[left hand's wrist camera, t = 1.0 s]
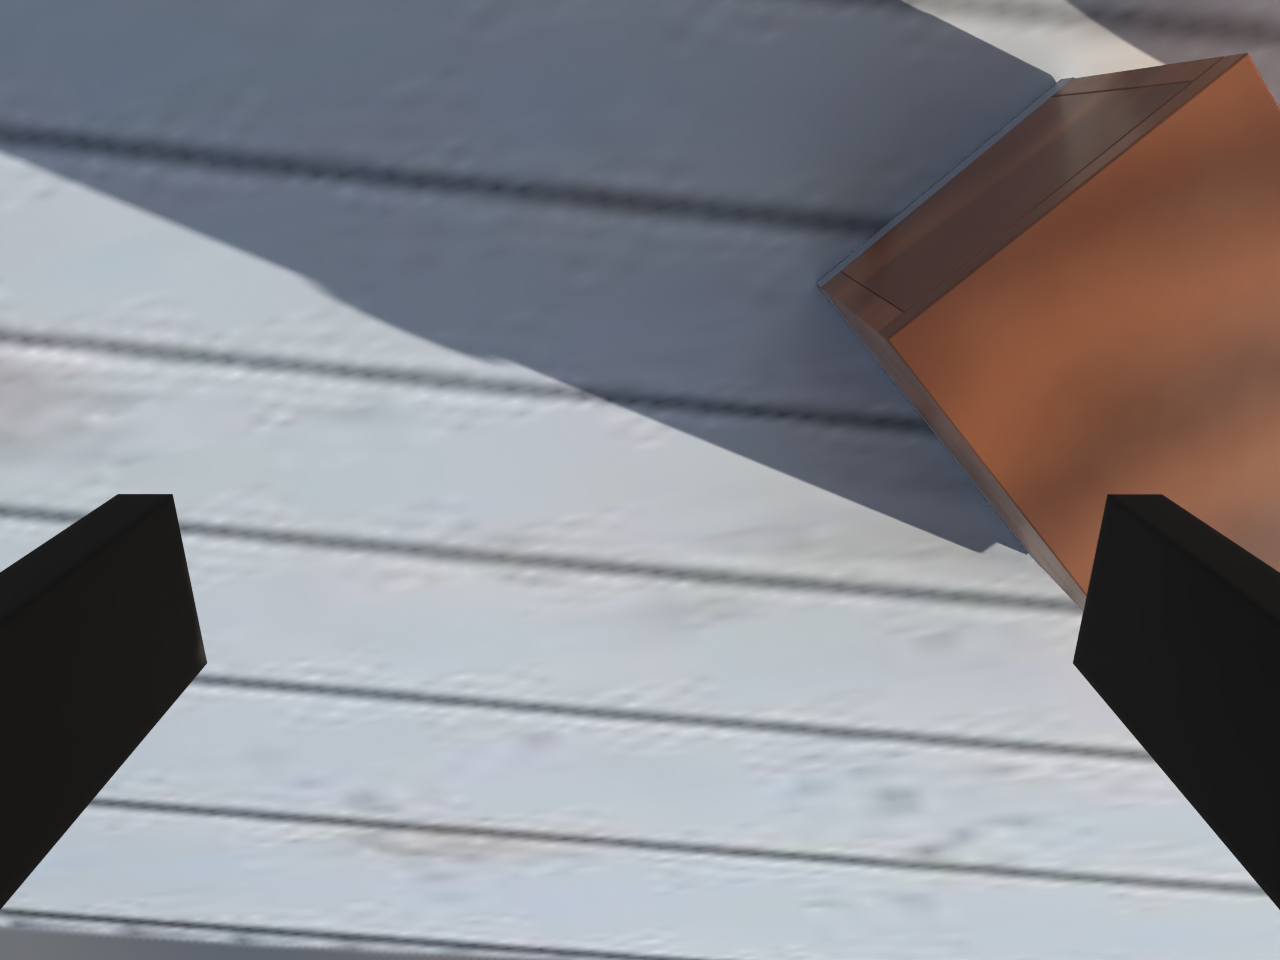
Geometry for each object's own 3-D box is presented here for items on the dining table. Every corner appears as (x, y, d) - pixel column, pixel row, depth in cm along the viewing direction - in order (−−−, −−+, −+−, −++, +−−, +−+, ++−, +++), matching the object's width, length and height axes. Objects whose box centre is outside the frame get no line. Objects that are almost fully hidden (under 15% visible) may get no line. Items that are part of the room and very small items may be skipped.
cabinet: (1263, 397, 37) (1496, 492, 27) (1031, 557, 39) (1164, 697, 29) (1061, 79, 32) (1249, 51, 22) (815, 283, 35) (885, 339, 25)
